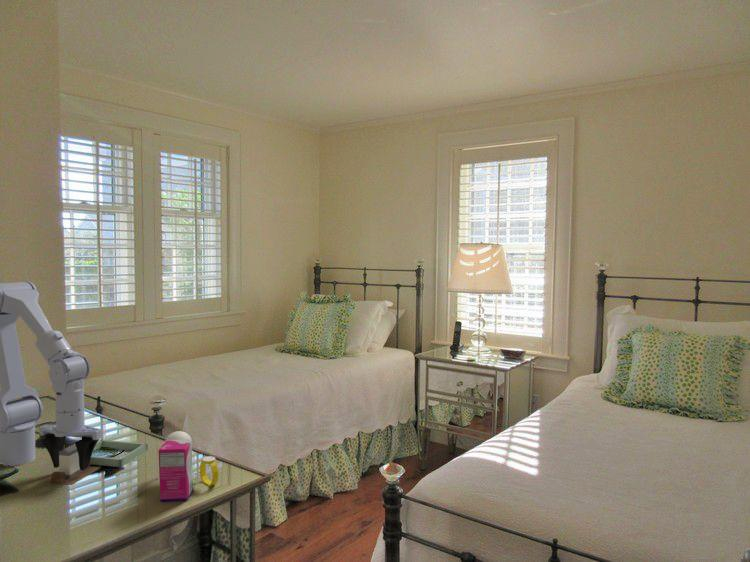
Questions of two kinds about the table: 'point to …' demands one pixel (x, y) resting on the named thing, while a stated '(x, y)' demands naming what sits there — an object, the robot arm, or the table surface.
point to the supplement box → (175, 470)
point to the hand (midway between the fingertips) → (71, 467)
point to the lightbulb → (178, 436)
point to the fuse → (69, 461)
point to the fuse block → (60, 478)
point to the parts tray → (118, 462)
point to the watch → (211, 462)
